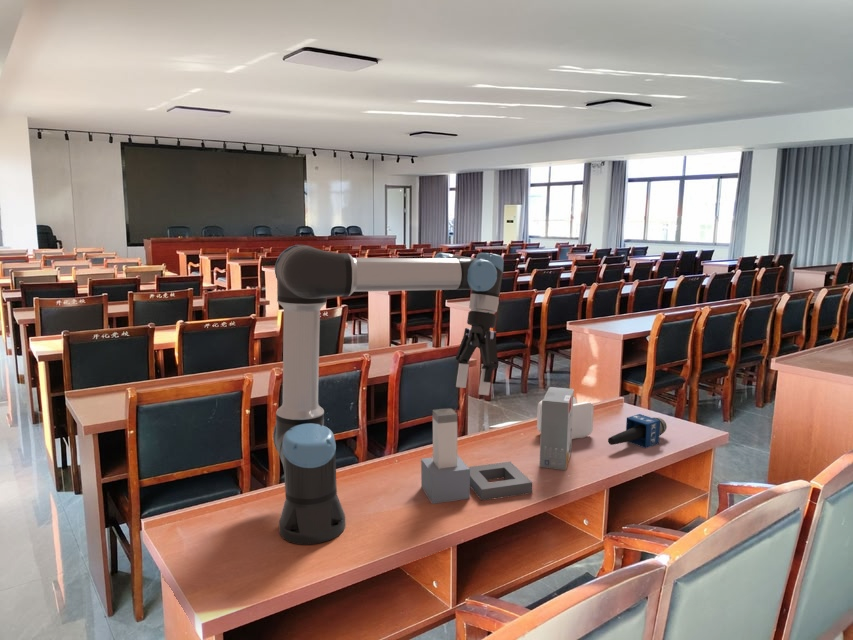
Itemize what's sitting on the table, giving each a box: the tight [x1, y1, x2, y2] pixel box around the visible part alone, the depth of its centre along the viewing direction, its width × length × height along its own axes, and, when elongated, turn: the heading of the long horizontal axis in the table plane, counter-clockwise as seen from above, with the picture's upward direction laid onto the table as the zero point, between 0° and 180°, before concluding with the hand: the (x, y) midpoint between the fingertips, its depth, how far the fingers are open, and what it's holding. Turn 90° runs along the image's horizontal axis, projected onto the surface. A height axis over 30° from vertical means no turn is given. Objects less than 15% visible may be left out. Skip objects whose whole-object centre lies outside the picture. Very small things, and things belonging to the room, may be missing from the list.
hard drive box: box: [538, 386, 575, 471], centre depth 179 cm, size 16×8×20 cm, turn 161°
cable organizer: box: [536, 396, 594, 440], centre depth 199 cm, size 15×11×12 cm
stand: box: [420, 454, 471, 505], centre depth 159 cm, size 10×10×8 cm
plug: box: [432, 407, 458, 469], centre depth 157 cm, size 5×5×14 cm
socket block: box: [468, 461, 533, 501], centre depth 163 cm, size 14×14×3 cm
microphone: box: [607, 413, 668, 449], centre depth 191 cm, size 8×8×25 cm
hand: (471, 391), depth 162 cm, fingers open, 13 cm apart
